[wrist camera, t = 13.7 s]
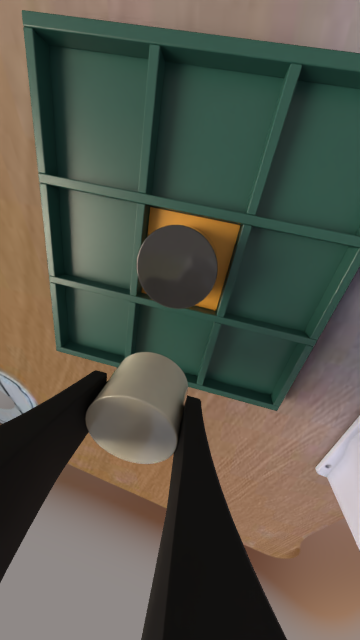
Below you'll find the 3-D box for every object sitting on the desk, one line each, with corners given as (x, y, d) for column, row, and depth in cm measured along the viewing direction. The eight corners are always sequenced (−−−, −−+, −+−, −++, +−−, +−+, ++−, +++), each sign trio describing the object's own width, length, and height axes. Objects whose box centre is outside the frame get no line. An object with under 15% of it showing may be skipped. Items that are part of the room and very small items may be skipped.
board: (272, 396, 17) (277, 411, 16) (68, 342, 18) (56, 350, 17) (435, 92, 9) (474, 67, 7) (46, 38, 10) (20, 9, 9)
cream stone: (180, 417, 12) (168, 474, 9) (115, 398, 12) (85, 448, 10) (195, 363, 10) (187, 414, 7) (119, 342, 11) (83, 383, 8)
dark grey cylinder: (208, 299, 14) (205, 317, 11) (150, 285, 14) (132, 299, 11) (225, 233, 12) (228, 234, 9) (158, 219, 12) (139, 216, 9)
